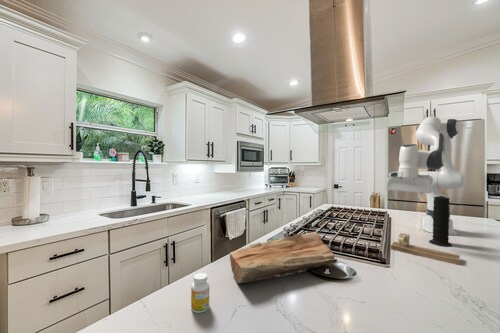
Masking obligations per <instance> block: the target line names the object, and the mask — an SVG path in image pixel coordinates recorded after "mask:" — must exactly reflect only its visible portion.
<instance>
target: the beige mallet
mask: <svg viewBox="0 0 500 333" xmlns="http://www.w3.org/2000/svg"><path fill="white" fill-rule="evenodd" d="M397 242H399V243H400V246H401V243H404V244H409V245H410V234H409V233H404V232H400V233H399V234H398V239H397Z"/></svg>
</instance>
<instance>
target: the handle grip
mask: <svg viewBox="0 0 500 333" xmlns="http://www.w3.org/2000/svg"><path fill="white" fill-rule="evenodd" d="M447 197H448V196H446V197H444V196H437V197H434V204H433V205H434V207H433V209H434V210H433V211H434V212H433V222H434V223H433V233H432V239H429V241H428V243H430V244H432V245H434V246H438V247H444V248H452V247H453V244H452V243H450V242H449V237H450V235H448V234H449V231H448V230H449V225H448V224H449V211H450V205H451V203H450V202H449V200H450V197H448V198H447ZM450 201H451V200H450Z"/></svg>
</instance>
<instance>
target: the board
mask: <svg viewBox="0 0 500 333" xmlns="http://www.w3.org/2000/svg"><path fill="white" fill-rule="evenodd" d="M390 250H393V251H397V252H402V253H406V254H410V255H414V256H419V257H423V258H429V259H432V260H436V261H440V262H445V263H448V264H454V265H458V266H460V261H461V260H460V254H455V253H451V252H446V251H441V250H437V249H432V248H428V247H422V246H418V245H412V244H410V243H409V244H404V243H401V246H400V243H399V242H398V241H393V242H392V244H390Z"/></svg>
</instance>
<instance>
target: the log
mask: <svg viewBox="0 0 500 333" xmlns="http://www.w3.org/2000/svg"><path fill="white" fill-rule="evenodd" d="M229 262H230V266H231V272H232V274H233V276H234V278H235V279H234V280H235V281H236V283H237V284H248V283H253V282H256V281H262V280H267V279H273V278H281V277H284V276H288V275H299V274H300V273H302V272H303V273H305V272H307V271H310V270H311V269H312V270H313V269H314V268H318V267H321V266H325V265H331V264H336V263H337V262H338V259H337V258H335V254H334V252H333V251H332V250H331V249H330V247H329V246H328V245H327V244H326V243H324V241H323V240H322V237H321V235H320V234H319V233H318V232H317V231H313V232H307V233H304V234H303V233H299V234H294V235H291V236H289V237H285V238H284V237H283V238H277V239H272V240H270V241H267V242H266V241H265V242H257V243H253V244H252V243H251V244H250V245H249V246H247V247H245V248H241V249H237V250H233V251H231V252H229Z"/></svg>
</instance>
